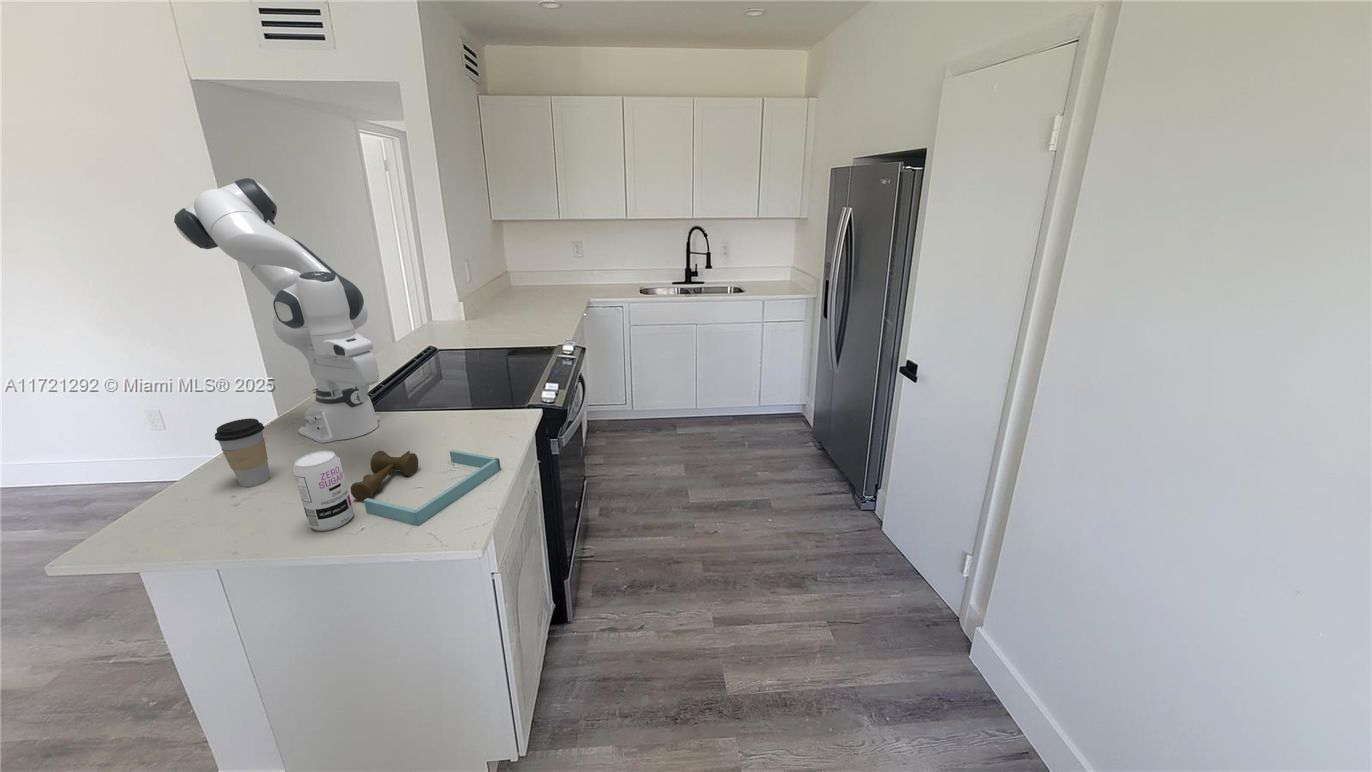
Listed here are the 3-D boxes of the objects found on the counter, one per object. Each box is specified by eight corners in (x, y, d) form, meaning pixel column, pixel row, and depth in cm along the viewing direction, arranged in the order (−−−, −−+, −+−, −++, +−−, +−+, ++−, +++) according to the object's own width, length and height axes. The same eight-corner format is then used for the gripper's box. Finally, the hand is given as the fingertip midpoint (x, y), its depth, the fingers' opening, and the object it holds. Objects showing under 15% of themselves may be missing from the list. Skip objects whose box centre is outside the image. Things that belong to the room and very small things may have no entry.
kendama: (342, 503, 126) (394, 460, 144) (382, 506, 125) (429, 462, 143) (336, 481, 123) (389, 440, 142) (376, 483, 122) (425, 441, 141)
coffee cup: (227, 494, 130) (207, 436, 125) (236, 477, 138) (217, 422, 132) (275, 484, 134) (258, 427, 129) (281, 468, 142) (265, 414, 137)
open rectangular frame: (366, 512, 121) (363, 500, 120) (454, 460, 143) (452, 449, 142) (418, 525, 115) (415, 513, 114) (500, 469, 138) (499, 458, 137)
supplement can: (322, 512, 121) (305, 450, 116) (361, 509, 122) (345, 448, 117) (301, 534, 114) (281, 469, 109) (343, 531, 114) (325, 466, 109)
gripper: (294, 343, 129) (310, 398, 134) (351, 349, 121) (366, 408, 125) (320, 337, 135) (335, 390, 139) (377, 342, 126) (390, 399, 131)
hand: (350, 399), depth 132 cm, fingers open, 8 cm apart
